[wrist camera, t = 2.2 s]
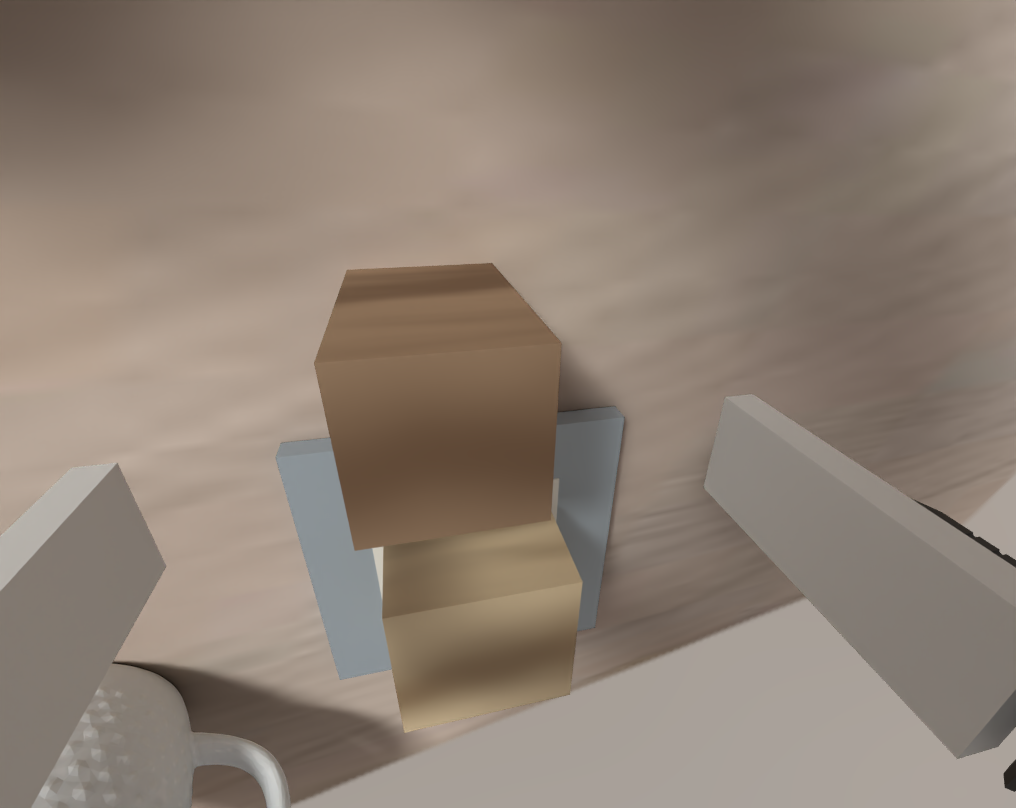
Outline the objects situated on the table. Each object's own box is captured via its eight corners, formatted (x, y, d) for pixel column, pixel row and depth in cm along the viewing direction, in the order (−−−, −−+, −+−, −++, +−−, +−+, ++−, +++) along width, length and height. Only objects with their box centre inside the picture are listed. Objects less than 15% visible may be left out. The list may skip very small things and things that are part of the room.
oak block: (383, 516, 20) (382, 619, 15) (543, 493, 21) (582, 581, 17) (401, 624, 23) (404, 732, 19) (538, 598, 24) (569, 694, 20)
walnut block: (347, 269, 16) (314, 363, 9) (491, 263, 17) (561, 343, 10) (368, 399, 18) (354, 550, 11) (493, 387, 19) (550, 520, 12)
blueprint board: (280, 443, 18) (275, 458, 17) (615, 406, 21) (625, 418, 20) (341, 661, 25) (339, 681, 24) (588, 612, 28) (595, 628, 27)
